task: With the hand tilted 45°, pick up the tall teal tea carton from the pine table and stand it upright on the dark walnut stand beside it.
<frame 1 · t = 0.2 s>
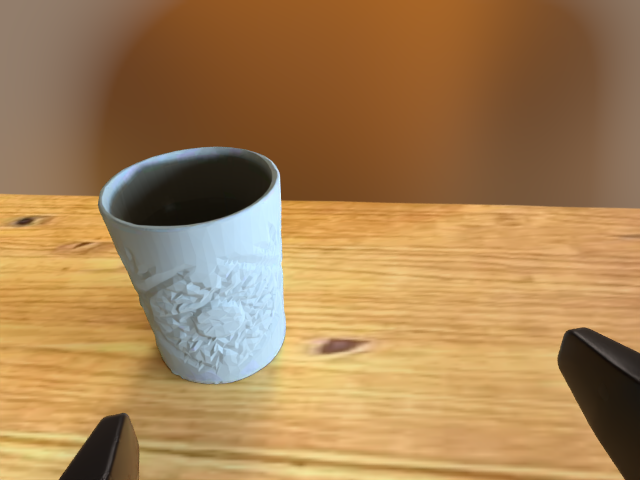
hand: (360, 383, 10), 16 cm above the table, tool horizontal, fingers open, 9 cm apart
grey embossed cup: (222, 337, 35), on the table
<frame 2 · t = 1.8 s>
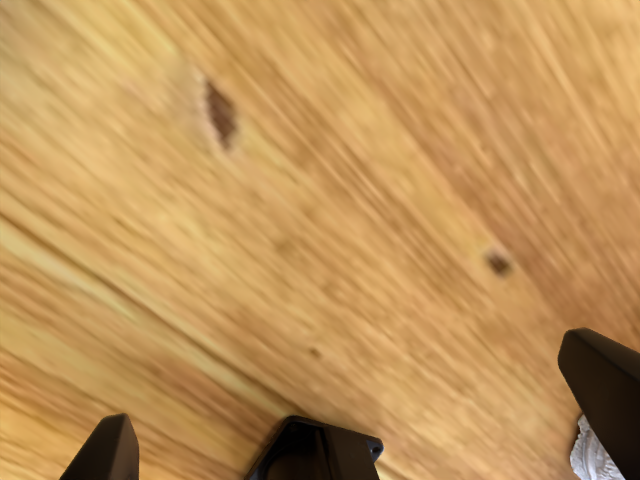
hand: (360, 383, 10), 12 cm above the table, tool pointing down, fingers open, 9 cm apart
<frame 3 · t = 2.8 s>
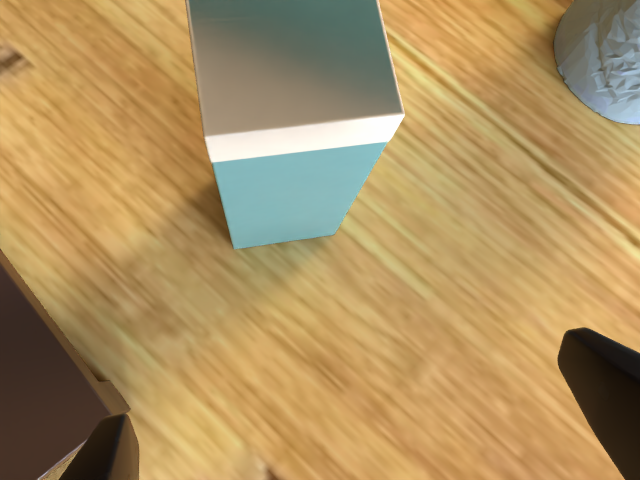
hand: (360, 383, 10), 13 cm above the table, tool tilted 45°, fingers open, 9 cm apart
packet: (278, 203, 25), on the table
grey embossed cup: (617, 56, 29), on the table
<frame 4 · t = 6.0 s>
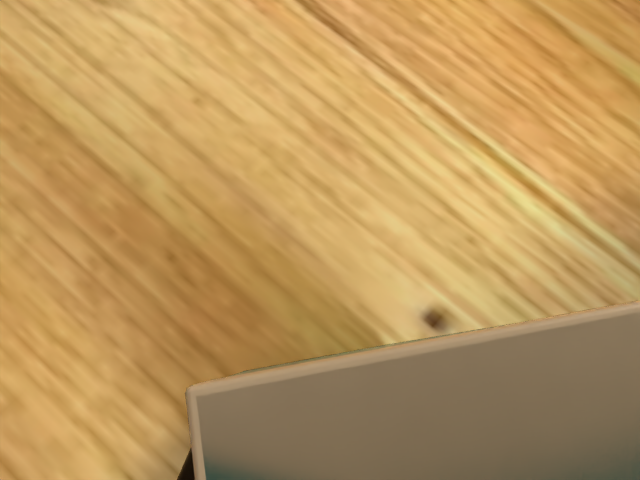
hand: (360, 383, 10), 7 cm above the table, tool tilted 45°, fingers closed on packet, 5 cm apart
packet: (329, 420, 16), on the table, touching gripper
when the fingers open (10 cm above the table, at t = 12.6 s): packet stays where it is, resting on stand.
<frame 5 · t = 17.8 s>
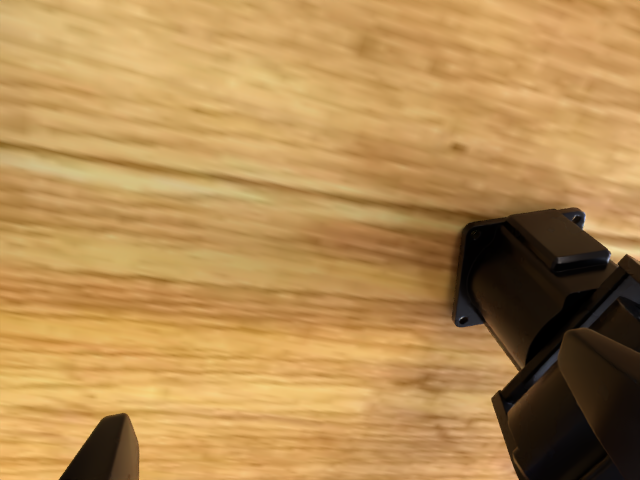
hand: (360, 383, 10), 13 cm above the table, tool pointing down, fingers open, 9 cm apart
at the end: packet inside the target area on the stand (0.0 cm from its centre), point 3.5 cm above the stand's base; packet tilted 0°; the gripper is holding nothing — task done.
